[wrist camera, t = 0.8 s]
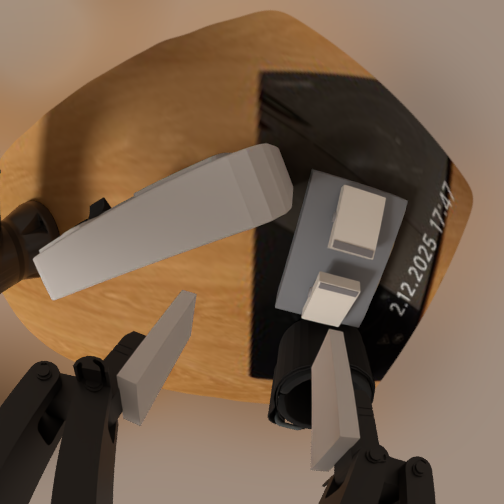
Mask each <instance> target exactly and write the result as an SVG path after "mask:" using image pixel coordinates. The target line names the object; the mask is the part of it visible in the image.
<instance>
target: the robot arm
mask: <svg viewBox="0 0 504 504" xmlns="http://www.w3.org/2000/svg"><path fill="white" fill-rule="evenodd" d="M0 173H1V170H0ZM58 237H60V236H59V232H58V228H57V226H56V223H55V221H54V219H53V217H52V215H51V214H50V212H49V211H48V209H47V208H46V207H45V206H44V205H42V204H41V203H39V202H37V201H29V202H26V203H23V204H21V205H19V206H18V207H17V208H16V209H15V210H13V211H12V212H11V213H10V214H9V215H8V216H7V217H6V218H4V219H3V220H2V221H1V217H0V294H1V293H2V292H4V291H5V290H7V289H8V288H10V287H12V286H13V285H15V284H16V283H18V282H19V281H21V280H24V279H32V278H39V277H40V274H39V272H38V270H37V268H36V266H35V263H34V261H33V258H34V257H35V256H37V255H38V254H40V252H39V250H40V249H41V248H43V247H44V246H46V245H47V244H49V243H50V242H52V241H54V240H55V239H57V238H58ZM195 301H196V294H195V293H191V292H188V291H185V290H182V291H181V292H180V294H179V295H178V296H177V297H176V299H175V300H174V301H173V302H172V304H171V305H170V306H169V308H168V309H167V310H166V311H165V313H164V314H163V315H162V317H161V318H160V319H159V320H158V322H157V323H156V324H155V326H154V327H153V328H152V329H151V331H150V332H149V333H148V335H147V336H145V335H142V334H140V333H137V332H135V331H133V332H131V333H129V334H127V335H125V336H124V337H123V338H122V339H121V340H120V342H119V343H118V345H116V346H115V347H114V349H113V350H112V351H111V352H110V353H109V354H108V356H107V357H106V358H105V359H104V360H102V359H101V358H98V357H95V356H86V357H82V358H80V359H78V360H77V361H76V362H75V364H74V365H73V367H74V371H75V375H76V376H71V375H67V374H62V373H60V372H59V369H58V368H57V366H56V365H55V364H53V363H52V362H48V361H41V362H37V363H35V364H34V365H33V366H32V367H31V368H30V369H29V370H28V372H27V373H26V374H25V375H24V377H23V378H22V379H21V380H20V382H19V383H18V384H17V386H16V387H15V388H14V390H13V391H12V392H11V393H10V395H9V396H8V397H7V399H6V400H5V401H4V403H3V404H2V405H1V407H0V504H28V503H29V502H30V499H31V497H32V495H33V493H34V491H35V489H36V486H37V484H38V482H39V480H40V478H41V476H42V474H43V472H44V470H45V468H46V466H47V464H48V462H49V460H50V458H51V456H52V454H53V452H54V451H55V448H56V447H57V445H58V443H59V441H60V439H61V437H62V440H61V445H60V450H59V455H58V460H57V466H56V471H55V478H54V484H53V491H52V499H51V504H113V482H114V466H115V465H114V464H115V453H116V442H117V432H118V418H119V416H120V414H121V413H123V418H124V419H126V420H128V421H130V422H132V423H135V424H137V425H139V426H141V424H142V422H143V421H144V419H145V417H146V415H147V413H148V411H149V410H150V408H151V406H152V404H153V402H154V401H155V398H156V397H157V395H158V393H159V391H160V390H161V388H162V386H163V384H164V382H165V381H166V379H167V377H168V375H169V373H170V372H171V370H172V368H173V366H174V365H175V363H176V361H177V359H178V357H179V356H180V354H181V352H182V350H183V348H184V347H185V345H186V343H187V341H188V340H189V338H190V336H191V330H192V322H193V315H194V308H195ZM311 369H312V441H311V470H316V471H329V470H330V469H331V468H332V467H333V466H334V468H335V469H334V471H335V472H334V475H333V476H331V477H330V479H328V480H327V481H326V482H325V483H324V484H323V487H325V486H326V485H327V487H326V489H325V491H324V493H323V495H322V498H321V500H320V502H319V504H435V492H434V483H433V475H432V468H431V466H430V464H429V462H428V461H427V460H426V459H424V458H422V457H412V458H411V459H409V460H408V461H407V462H405V461H402V460H398V459H394V458H392V457H390V456H389V455H388V452H387V451H386V450H385V448H384V447H382V446H381V445H379V442H378V436H377V430H376V424H375V419H374V414H373V410H372V404H371V399H370V398H369V396H368V395H367V393H366V392H365V391H363V390H356V389H353V385H352V379H351V373H350V367H349V362H348V356H347V351H346V346H345V340H344V335H343V332H341V331H336V330H332V329H329V330H328V332H327V335H326V337H325V339H324V341H323V344H322V346H321V348H320V350H319V352H318V355H317V357H316V359H315V361H314V363H313V365H312V367H311Z"/></svg>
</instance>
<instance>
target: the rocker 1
mask: <svg viewBox="0 0 504 504" xmlns="http://www.w3.org/2000/svg"><path fill="white" fill-rule="evenodd" d="M360 292H361V291H360V282H359V281H355V280H351V279H348V278H344V277H340V276H336V275H332V274H329V273H325V272H321V271H320V272H319V274H318V276H317V279H316V281H315V283H314V285H313V287H310V288H309V291H308V299H307V301H306V303H305V305H304V307H303V311H302V319H306V320H310V321H314V322H318V323H323V324H327V325H331V326H336V327H339V325H340V324H341V322H342V321H343V319H344V317H345V316H346V314H347V313H348V311H349V310H350V308H351V306H352V305H353V303H354V302H355V300H356V298H357V297H358V295H359V293H360Z"/></svg>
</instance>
